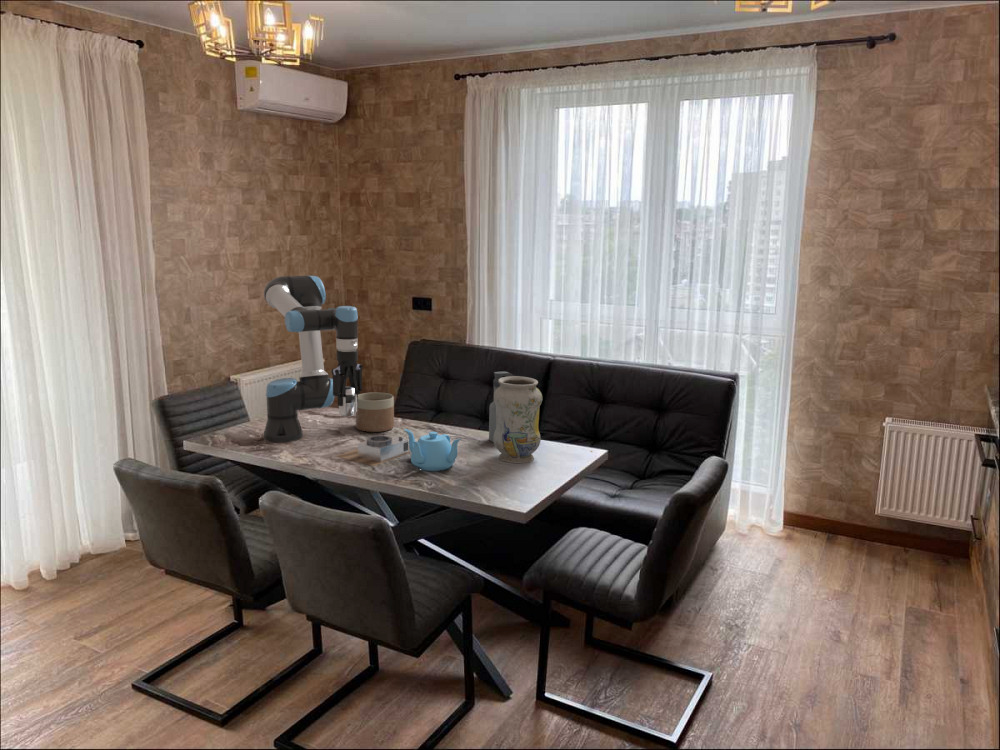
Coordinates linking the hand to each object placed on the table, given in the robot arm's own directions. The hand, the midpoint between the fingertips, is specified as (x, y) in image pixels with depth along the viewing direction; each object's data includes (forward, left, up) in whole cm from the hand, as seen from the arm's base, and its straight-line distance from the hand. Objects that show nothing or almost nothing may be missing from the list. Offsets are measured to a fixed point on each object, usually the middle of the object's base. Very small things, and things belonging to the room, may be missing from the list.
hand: (348, 412), depth 274 cm
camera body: (+10, +8, -16) cm, 20 cm away
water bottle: (+32, +54, -17) cm, 65 cm away
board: (+7, +6, -17) cm, 19 cm away
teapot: (+30, +11, -17) cm, 36 cm away
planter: (-21, +37, -17) cm, 46 cm away
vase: (+50, +37, -17) cm, 64 cm away
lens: (0, 0, -1) cm, 1 cm away
